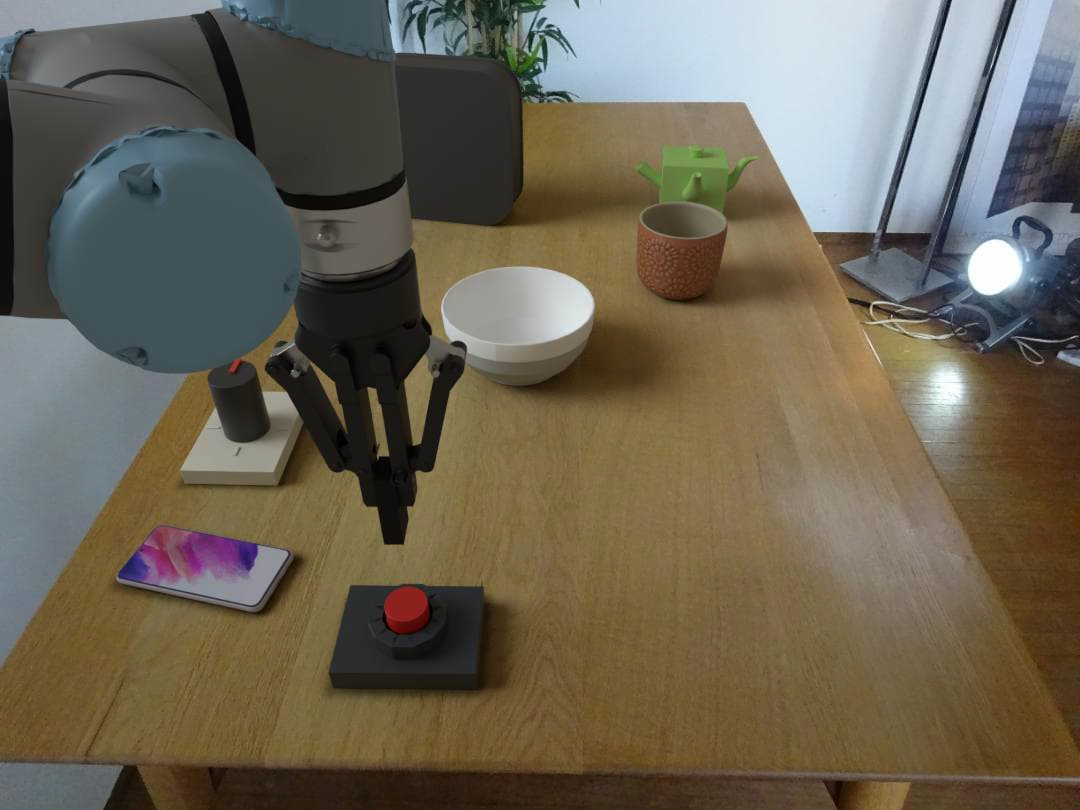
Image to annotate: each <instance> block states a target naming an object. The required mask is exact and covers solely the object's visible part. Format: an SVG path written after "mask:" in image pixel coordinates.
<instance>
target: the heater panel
mask: <svg viewBox="0 0 1080 810" xmlns="http://www.w3.org/2000/svg"><path fill="white" fill-rule="evenodd" d="M262 393H263V396H264V400H265V404H266V408H267V412H268V415H269V419H270V423H271V425H270V429H269V431H268V432H267V433H266V434H265V435H264V436H262V437H261V438H259V439H256V440H254V441H250V442H244V443H238V442H233V441H230V440H229V439H227V438H226V437H225V435H224V431H223V428H222V425H221V422H220V419H219V415H218V412H217V409H216V406H215V408H214V409H213V411H212V413H211V415H210V417H209V418H208V420H207V422H206V423H205V425H204V427H203V428H202V430H201V433H200V434H199V436H198V437H197V440H196V441H195V443H194V445H193V446H192V448H191V450H190V452H189V454H188V455H187V457H186V459H185V461H184V462H183V464H182V466H181V467H180V470H179V471H180V474H181V476H182V479H183V482H184V484H186V485H229V486H231V485H232V486H234V485H235V486H276V487H277V486H278V485H279V483H280V481H281V478H282V476H283V474H284V470H285V468H286V466H287V464H288V461H289V459H290V456H291V454H292V452H293V449H294V447H295V444H296V442H297V439H298V438H299V435H300V432H301V431H302V430H301V429H302V427H303V426H304V422H303V421H302V419H301V417H300V415H299V413H298V412H297V410H296V408H295V406H294V404H293V402H292V401H291V399H290V397H289V395H288V393H287V392H286V391H263V390H262Z"/></svg>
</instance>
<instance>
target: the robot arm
mask: <svg viewBox="0 0 1080 810" xmlns="http://www.w3.org/2000/svg"><path fill="white" fill-rule="evenodd" d="M220 2H221V7H217V8H211V9H207V10H205V11H204V12H202V13H193V14H189V15H180V16H171V17H162V18H153V19H143V20H133V21H125V22H116V23H115V22H114V23H108V24H107V23H106V24H98V25H97V24H96V25H89V26H80V27H79V26H78V27H71V28H69V27H68V28H62V29H51V30H43V31H42V30H41V31H39V30H35V28H26V29H19V30H18V31H15V33H14V34H12V35H8V36H7V35H6V36H3V37H0V317H13V318H24V319H38V320H39V319H40V320H41V319H42V320H44V319H45V320H67V321H68V322H69V323H70V324H72V325H73V326H74V327H75V329H76V330H77V331H78V332H79V333H80V334H81V335H82V337H84V338H85V339H86V340H87V341H88V342H89V343H90V344H91V345H93V347H95V348H96V349H97V350H98V351H101V352H103V353H105V354H107V355H109V356H111V357H112V358H113V359H114V358H115V359H116V360H118V361H121V362H123V363H126V364H128V365H131V366H134V367H136V368H137V367H138V368H140V369H141V370H144V371H147V372H153V373H156V374H157V373H159V374H169V375H177V374H178V375H180V374H181V375H182V374H193V373H201V372H206V371H209V370H210V371H211V370H212V369H214V368H218V367H220V366H223V365H226V364H228V363H231V362H233V361H235V360H237V359H242V358H243V357H246V356H247V355H249V353H251V352H253V351H254V350H256V349H257V348H259V347H260V346H261V345H262V344H263V343H265V342H266V341H267V340H268V339H269V338H270V337H271V336H272V335H273V334H274V333H275V332H276V331H277V330H278V329H279V327H280V326H281V324H282V323H283V322H284V320H285V319H286V317H287V316H288V314H289V312H290V310H291V309H292V306H293V308H294V312H295V313H294V314H295V316H296V319H297V328H296V331H295V332H294V337H293V338H292V339H291V340H289V341H286V340H279V341H276V343H275V344H274V346H273V348H272V351H271V352H270V354H269V357H268V358H267V361H266V362H265V365H264V371H265V372H266V374H267V375H268V376H269V377H270V378H271V379H272V380H273V381H274V382H275V383H277V384H278V385H279V386H280V387H281V388H282V389H283V390H284V392H287V393H288V395H289V397H290V399H291V401H292V402H293V404H294V406H295V408H296V410H297V412H298V413H299V415H300V417H301V419H302V421H303V422H304V423H303V425H304V426H305V428H306V430H307V431H308V433H309V436H310V437H311V439H312V440H313V442H314V444H315V446H316V448H317V450H318V452H319V453H320V455H321V457H322V459H323V460H324V462H325V464H326V466H327V468H328V469H329V470H330V471H331V472H333V473H335V474H340V473H343V472H344V471H348V472H351V473H353V474H355V476H356V477H357V479H358V484H359V488H360V494H361V499H362V503H363V504H364V505H365V507H366V508H377V509H376V510H377V514H378V519H379V525H380V531H381V535H382V541H383V545H384V546H404V545H405V541H406V535H407V532H408V531H407V530H408V526H409V520H410V517H409V511H408V508H411V507H412V508H413V507H414V505H415V503H416V500H417V493H418V489H419V487H418V481H417V474H416V472H418V471H420V472H421V473H424V474H425V473H431V472H432V471H434V469H435V466H436V460H437V455H438V451H439V447H440V446H439V445H440V441H441V436H442V431H443V427H444V423H445V417H446V412H447V408H448V402H449V398H450V393H451V390H452V389H453V388H454V387H455V385H456V384H457V383H458V382H459V380H460V378H461V377H462V376H463V374H464V372H465V368H466V363H465V361H466V355H467V346H466V344H465V343H464V342H462V341H453V342H452V343H451V344H450V343H448V342H447V341H444V340H442V339H441V338H439V337H437V336H435V335H434V334H433V328H432V326H431V324H430V322H429V321H428V320H427V318H426V317H425V316H424V313H423V310H422V303H421V294H420V285H419V276H418V268H417V259H416V253H415V251H414V248H412V246H413V244H414V230H413V220H412V218H411V211H410V203H409V194H408V186H407V179H406V175H405V167H404V163H403V152H402V141H401V130H400V119H399V108H398V97H397V86H396V76H395V65H394V61H396V56H395V53H396V50H395V49H394V44H393V39H392V33H391V32H392V31H391V26H390V20H389V13H388V7H387V3H386V0H220ZM424 356H426V357H427V359H428V364H427V370H428V372H429V373H430V375H431V377H433V379H432V383H431V388H430V393H429V398H428V404H427V408H426V414H425V420H424V425H423V430H422V434H421V435H422V436H421V440H420V443H418V444H414V440H413V435H412V434H413V433H412V428H411V420H410V413H409V405H408V398H407V390H406V384H405V380H406V379H407V378H408V377H409V376H410V375H411V373H412V372H413V370H414V369H415V368H416V366H417V365H418V363H420V361H421V359H422V358H423V357H424ZM311 363H312V364H314V366H315V367H317V368H318V369H319V370H320V371H321V372H322V373H323V374H324V375H325V376H326V377H327V378H329V379H330V380H331V381H332V382H334V386H335V391H336V397H337V401H338V404H339V405H341V409H342V414H343V419H344V425H345V427H344V425H343V423H342V420H341V419H340V418H339V415H338V413H337V411H336V410H335V408H334V405H333V404H332V401H331V400H330V398H329V397H328V394H327V392H326V390H325V388H324V385H323V384H322V382H321V380H320V378H319V376H318V375H317V373H316V371H315V369H314V367H313V366H312V365H311ZM368 388H371V389H374V390H375V391H376V396H377V397H376V398H377V402H378V405H380V409H381V414H382V420H383V426H384V427H383V428H384V432H385V437H386V445H387V451H388V455H378V454H379V450H380V447H381V443H378V442H377V437H376V431H375V425H374V419H373V418H374V417H373V413H372V408H371V407H372V406H371V401H370V395H369V389H368Z"/></svg>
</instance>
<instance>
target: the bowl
mask: <svg viewBox="0 0 1080 810" xmlns="http://www.w3.org/2000/svg"><path fill="white" fill-rule="evenodd" d="M440 311H441V312H440V313H441V317H442V323H443V327H444V332H445V334H446V336H447V339H448V341H449V344H451V343H452V342H453V341H462V342H464V343H465V344H466V346H467V355H466V361H465V365H466V366H467V367H469V368H470V369H471V370H472V371H474V372H475V373H476V374H479V375H480V376H483V377H484V378H487V379H489V380H490V381H493V382H495V383H497V384H501V385H505V386H514V387H523V386H531V385H532V386H533V385H535V384H540V383H543V382H544V381H547V380H549V379H551V378H552V377H553V376H556V375H559V374H560V373H561V372H563V371H564V370H567V368H568V367H569V366H571V365H572V363H574V361H575V360H576V359H577V358H578V357H579V356H580V355H581V354H582V353H583V351H584V350H585V348H586V346H587V344H588V341H589V339H590V335H591V332H592V330H593V327H594V326H593V325H594V321H595V312H596V301H595V298H594V296H593V295H592V292H591V290H590V289H589V288H588V287H587V286H586V285H584V283H582V282H581V281H579V280H578V279H576V278H574V277H572V276H570V275H568V274H566V273H563V272H560V271H556V270H553V269H548V268H543V267H537V266H504V267H496V268H491V269H486V270H482V271H479V272H477V273H474V274H471V275H469V276H467V277H465V278H462V279H461V280H459V281H458V282H456V283H455V284H453V285H452V286H451V287H450V288H449V289H448V291H447V292H446V293H445V294H444V297H443V298H442V300H441V305H440Z"/></svg>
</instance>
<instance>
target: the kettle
mask: <svg viewBox="0 0 1080 810" xmlns="http://www.w3.org/2000/svg"><path fill="white" fill-rule="evenodd" d="M759 158H760V157H758V156H753V155H749V156H744V157H742V158H741V159H739V161H738V162H737V163H736V165H735V168H734V169H733V170H732V171H731V172H730V165H729V164H730V163H729V158H728V153H727V148H726V147H710V146H709V147H707V146H702V145H699V144H692V145H689V146H687V145H686V146H683V145H663V148H662V159H661V169H660V172H658V171H657V170H655V169H654V168H653V167H652V166H650V165H649V164H648V163H647V162H646V161H645V160H644V161H641V162H640V163H639V164H638V166H637V168H636V169H635V172H637V173H638V174H639V175H640V176H642V177H643V178H645V179H646V180H647V181H648V182H650V183H651V184H652V185H653V186H655V187H656V188H658V189H659V191H658V194H659V195H658V196H659V197H658V198H659V199H658V200H659V203H663V202H672V201H683V202H693V203H698V204H703V205H706V206H709V207H712V208H714V209H716V210H718V211H719V212H721V213H722V214H723V215H724V208H725V202H726V195H727V193H729V192H730V191H731V190H733V189H734V188H735V187H736V186H737V184H738V182H739V180H740V178H741V176H742V174H743V172H744V170H745V168H746V167H747V166H748V165H749V164H750V163H751V162H753V161H755V160H757V159H759Z"/></svg>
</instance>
